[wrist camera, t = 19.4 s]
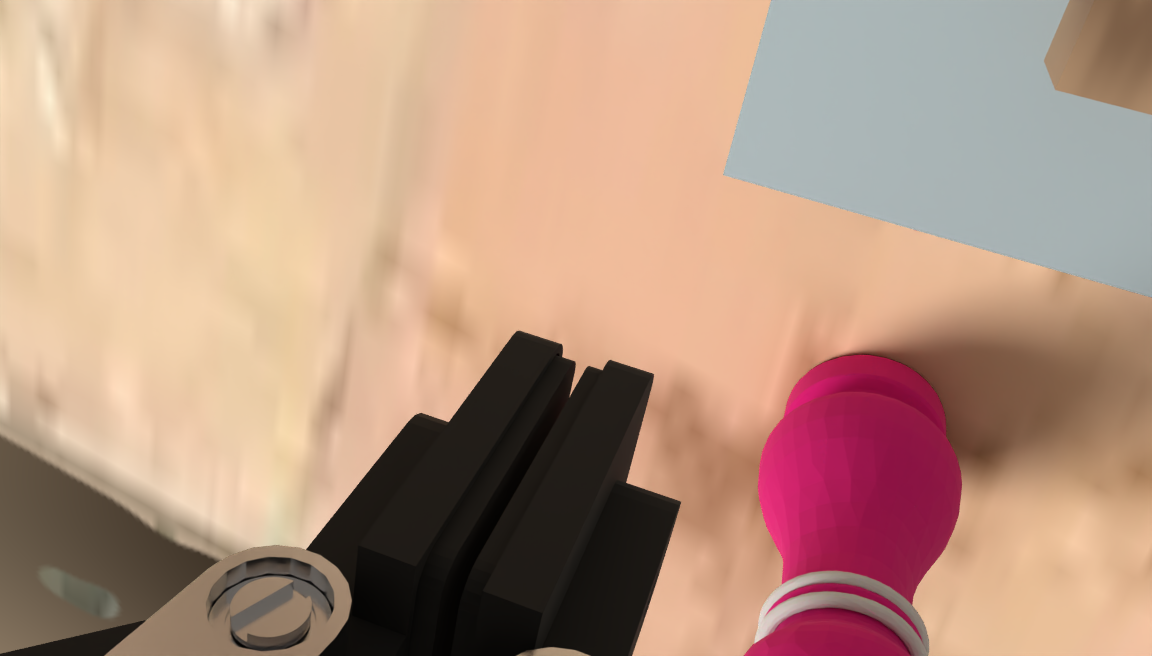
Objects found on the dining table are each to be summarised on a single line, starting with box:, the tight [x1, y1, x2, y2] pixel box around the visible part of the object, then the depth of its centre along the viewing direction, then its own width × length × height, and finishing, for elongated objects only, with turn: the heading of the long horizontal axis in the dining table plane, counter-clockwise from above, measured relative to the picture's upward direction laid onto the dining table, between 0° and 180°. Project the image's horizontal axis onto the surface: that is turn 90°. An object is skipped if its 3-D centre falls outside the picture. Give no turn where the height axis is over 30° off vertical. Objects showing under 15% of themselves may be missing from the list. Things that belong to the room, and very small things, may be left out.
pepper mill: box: [744, 355, 962, 656], centre depth 33 cm, size 7×7×20 cm
